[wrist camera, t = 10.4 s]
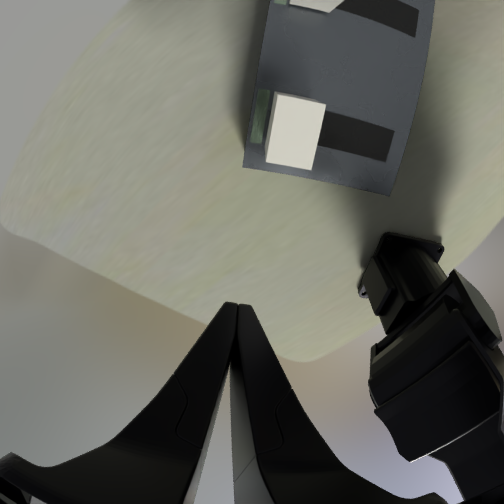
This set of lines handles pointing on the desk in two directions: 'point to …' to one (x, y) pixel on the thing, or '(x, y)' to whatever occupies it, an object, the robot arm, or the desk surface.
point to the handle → (293, 130)
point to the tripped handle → (318, 4)
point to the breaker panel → (345, 85)
